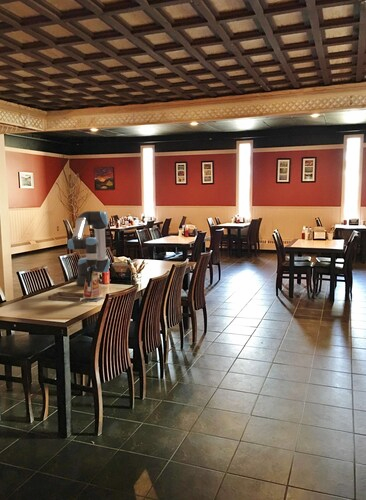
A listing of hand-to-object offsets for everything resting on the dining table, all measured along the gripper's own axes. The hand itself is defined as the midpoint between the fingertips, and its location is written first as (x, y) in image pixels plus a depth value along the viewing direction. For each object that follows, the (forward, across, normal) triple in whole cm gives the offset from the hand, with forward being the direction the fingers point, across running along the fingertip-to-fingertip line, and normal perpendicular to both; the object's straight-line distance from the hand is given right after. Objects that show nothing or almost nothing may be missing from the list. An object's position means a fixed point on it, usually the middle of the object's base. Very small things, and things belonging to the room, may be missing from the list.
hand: (92, 289), depth 307 cm
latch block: (+7, -14, -3) cm, 16 cm away
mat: (+7, 0, 0) cm, 7 cm away
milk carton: (+6, 0, 0) cm, 6 cm away
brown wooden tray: (+7, 0, -19) cm, 20 cm away
